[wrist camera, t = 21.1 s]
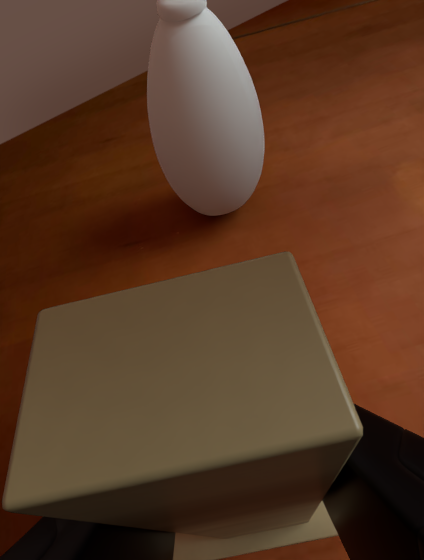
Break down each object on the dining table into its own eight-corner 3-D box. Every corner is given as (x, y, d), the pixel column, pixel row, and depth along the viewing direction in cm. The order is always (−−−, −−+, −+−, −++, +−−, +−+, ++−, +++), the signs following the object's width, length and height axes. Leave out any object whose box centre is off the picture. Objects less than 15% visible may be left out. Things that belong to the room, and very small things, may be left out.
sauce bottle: (280, 220, 29) (281, -85, 14) (190, 251, 29) (88, -22, 13) (248, 162, 33) (222, -121, 18) (169, 188, 33) (75, -74, 18)
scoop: (373, 528, 12) (729, 447, 2) (172, 568, 12) (-289, 649, 3) (292, 305, 18) (292, 12, 8) (157, 336, 18) (0, 91, 8)
